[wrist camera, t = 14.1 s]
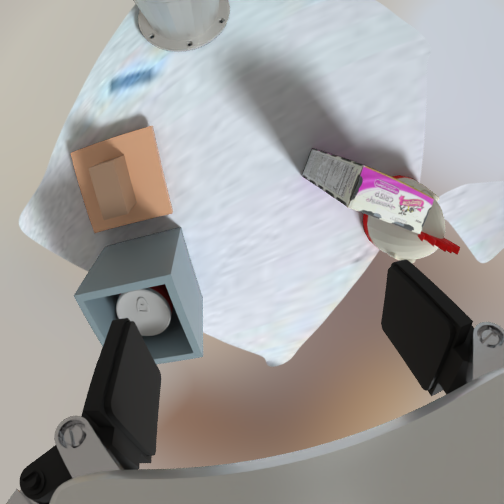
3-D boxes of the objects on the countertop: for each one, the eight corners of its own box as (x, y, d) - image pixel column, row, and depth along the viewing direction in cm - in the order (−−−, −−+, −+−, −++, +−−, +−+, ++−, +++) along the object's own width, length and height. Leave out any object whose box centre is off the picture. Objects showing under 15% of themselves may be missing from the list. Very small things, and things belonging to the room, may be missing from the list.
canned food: (168, 245, 44) (158, 283, 35) (183, 287, 48) (179, 331, 38) (124, 257, 44) (105, 295, 34) (142, 297, 48) (130, 340, 38)
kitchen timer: (408, 253, 52) (455, 294, 38) (352, 242, 49) (397, 288, 35) (432, 187, 46) (489, 215, 33) (377, 165, 43) (437, 190, 30)
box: (105, 246, 43) (73, 295, 30) (180, 227, 43) (170, 274, 31) (133, 311, 49) (117, 369, 36) (202, 297, 49) (203, 356, 37)
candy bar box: (371, 169, 43) (436, 198, 29) (360, 197, 45) (421, 236, 31) (310, 145, 41) (364, 163, 26) (299, 176, 43) (346, 210, 28)
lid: (77, 150, 36) (54, 158, 29) (154, 125, 37) (142, 127, 30) (99, 227, 42) (82, 247, 35) (174, 208, 42) (167, 226, 36)
